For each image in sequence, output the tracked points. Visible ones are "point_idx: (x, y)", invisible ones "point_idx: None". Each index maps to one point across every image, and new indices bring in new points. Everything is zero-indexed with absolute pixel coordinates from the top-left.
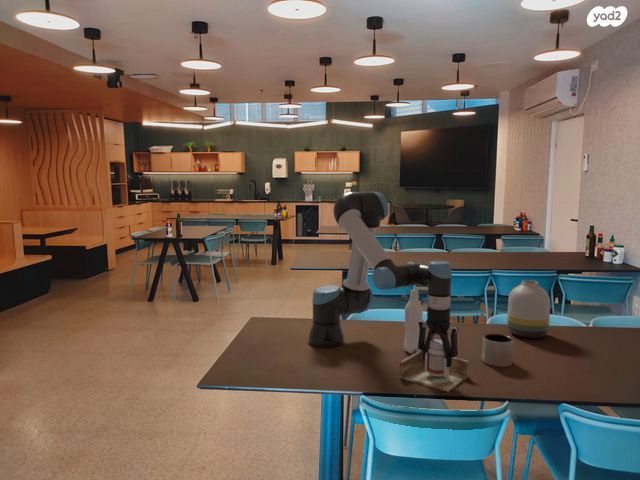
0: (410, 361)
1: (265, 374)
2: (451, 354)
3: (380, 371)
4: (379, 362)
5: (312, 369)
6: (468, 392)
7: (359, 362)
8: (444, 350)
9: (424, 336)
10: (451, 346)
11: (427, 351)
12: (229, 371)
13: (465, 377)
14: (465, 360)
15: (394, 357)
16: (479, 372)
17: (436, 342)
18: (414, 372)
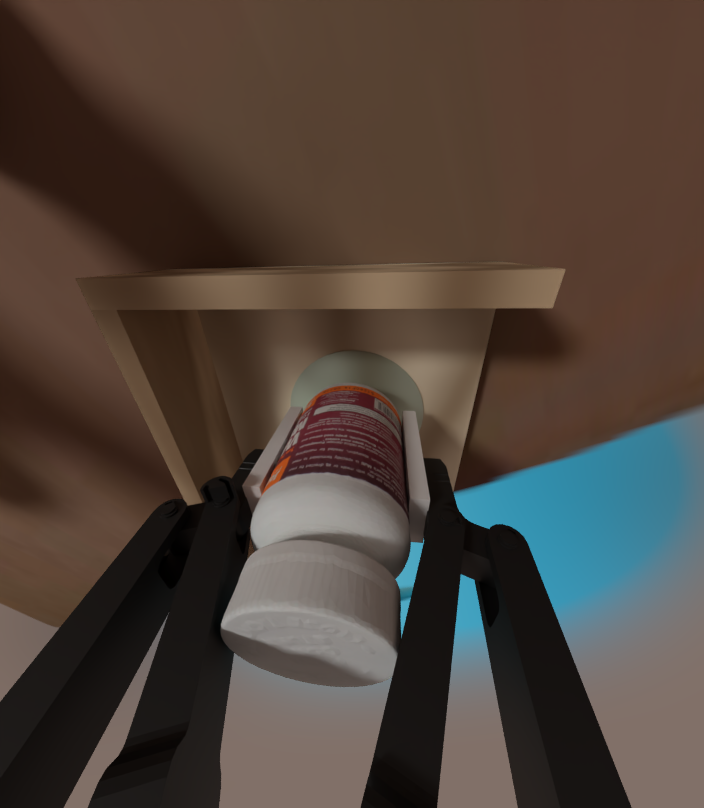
0: (202, 462)
1: (50, 586)
2: (479, 589)
3: (153, 460)
4: (62, 389)
5: (52, 536)
6: (532, 448)
7: (36, 434)
8: (396, 568)
9: (107, 644)
10: (504, 696)
11: (247, 507)
12: (11, 597)
13: (493, 311)
14: (528, 285)
15: (14, 278)
16: (584, 74)
17: (309, 664)
18: (250, 424)
